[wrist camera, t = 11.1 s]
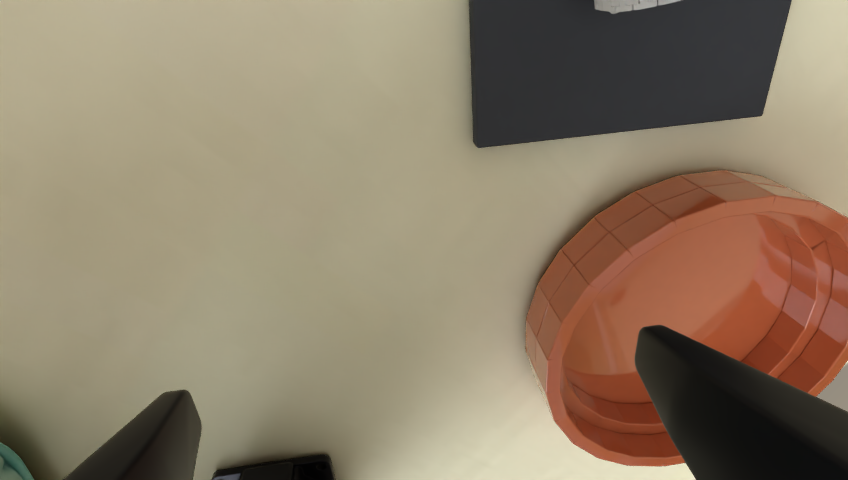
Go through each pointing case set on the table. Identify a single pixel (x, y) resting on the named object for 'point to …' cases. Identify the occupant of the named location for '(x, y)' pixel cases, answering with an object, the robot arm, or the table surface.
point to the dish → (687, 301)
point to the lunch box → (12, 465)
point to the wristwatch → (627, 4)
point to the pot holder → (617, 66)
